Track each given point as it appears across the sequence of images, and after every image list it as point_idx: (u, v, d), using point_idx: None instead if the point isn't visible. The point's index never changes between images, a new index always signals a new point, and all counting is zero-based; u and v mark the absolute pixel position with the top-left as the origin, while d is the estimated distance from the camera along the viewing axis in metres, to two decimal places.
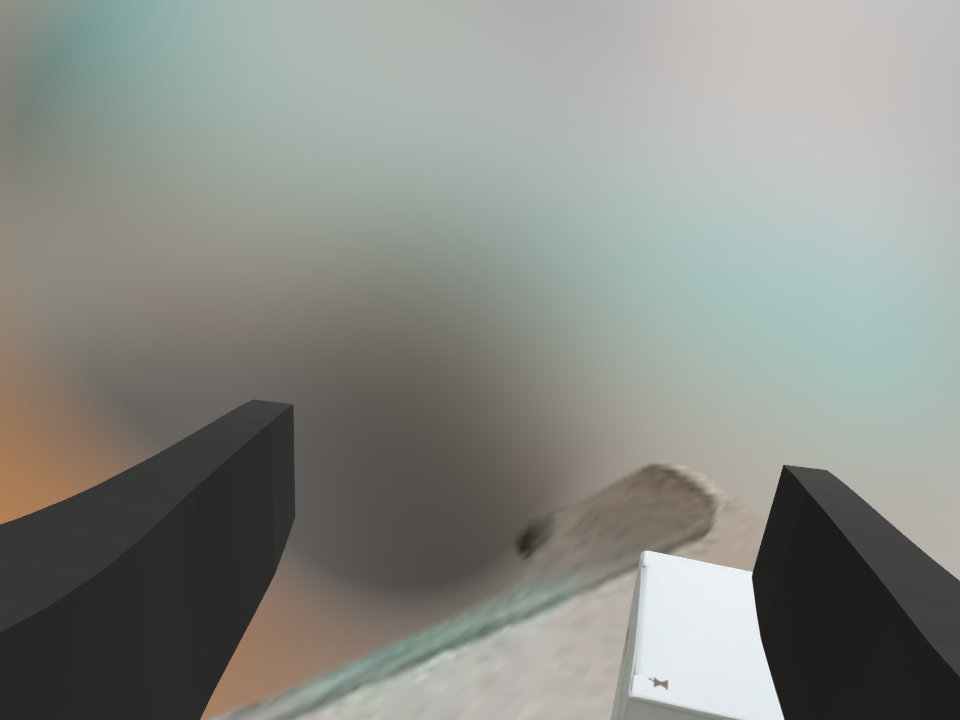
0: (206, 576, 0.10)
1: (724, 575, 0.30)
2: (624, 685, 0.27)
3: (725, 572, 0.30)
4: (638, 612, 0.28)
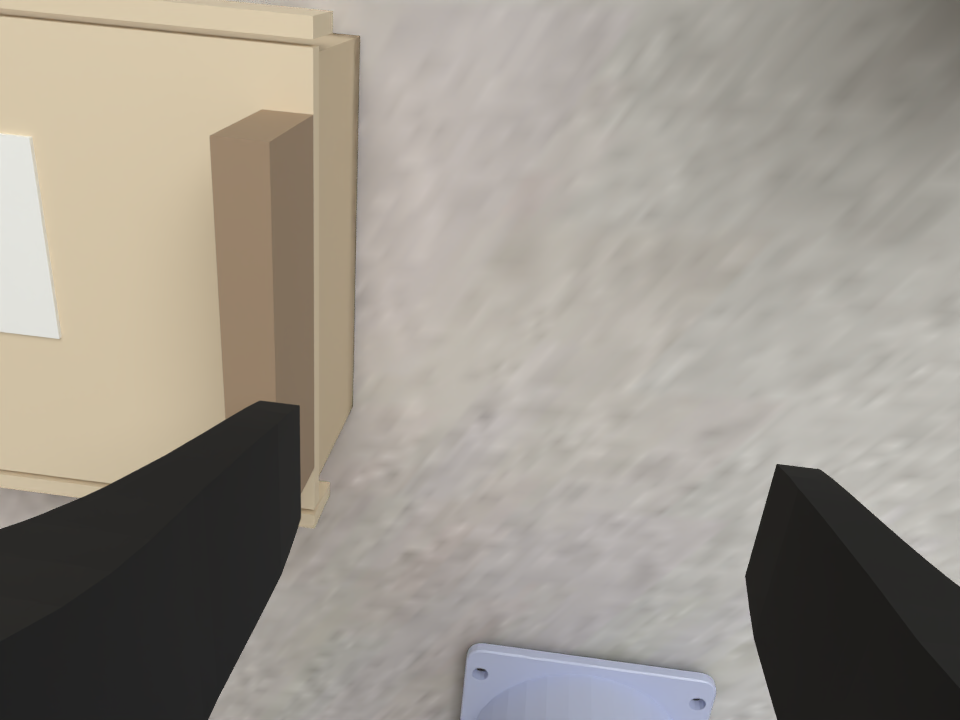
0: (214, 577, 0.10)
1: None
2: None
3: None
4: None
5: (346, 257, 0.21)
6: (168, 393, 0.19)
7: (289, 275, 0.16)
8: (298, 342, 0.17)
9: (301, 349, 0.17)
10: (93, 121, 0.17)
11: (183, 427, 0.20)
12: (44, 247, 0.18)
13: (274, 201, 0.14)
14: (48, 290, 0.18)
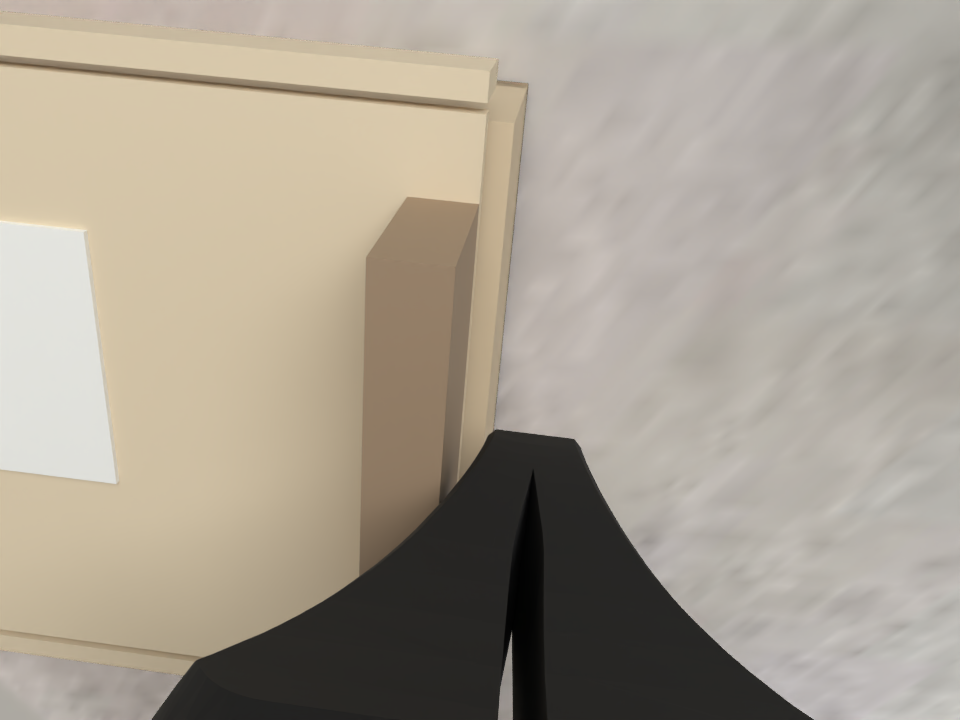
0: (506, 616, 0.10)
1: None
2: None
3: None
4: None
5: (498, 360, 0.17)
6: (257, 550, 0.15)
7: (451, 430, 0.11)
8: None
9: None
10: (171, 211, 0.12)
11: (274, 590, 0.15)
12: (99, 371, 0.13)
13: (451, 344, 0.10)
14: (102, 423, 0.14)
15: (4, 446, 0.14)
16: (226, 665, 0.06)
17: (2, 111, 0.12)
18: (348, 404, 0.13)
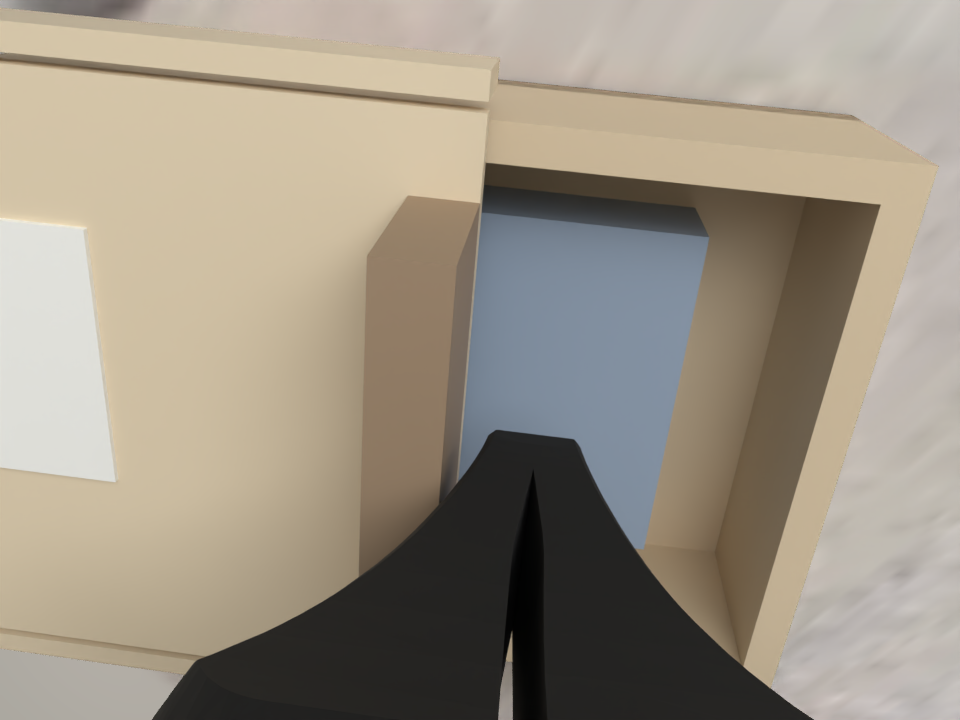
0: (506, 616, 0.10)
1: None
2: None
3: None
4: None
5: None
6: (256, 549, 0.15)
7: (451, 430, 0.11)
8: None
9: None
10: (172, 208, 0.12)
11: (273, 589, 0.15)
12: (99, 369, 0.13)
13: (452, 343, 0.10)
14: (101, 421, 0.14)
15: (3, 444, 0.14)
16: (226, 663, 0.06)
17: (2, 108, 0.12)
18: (349, 403, 0.13)
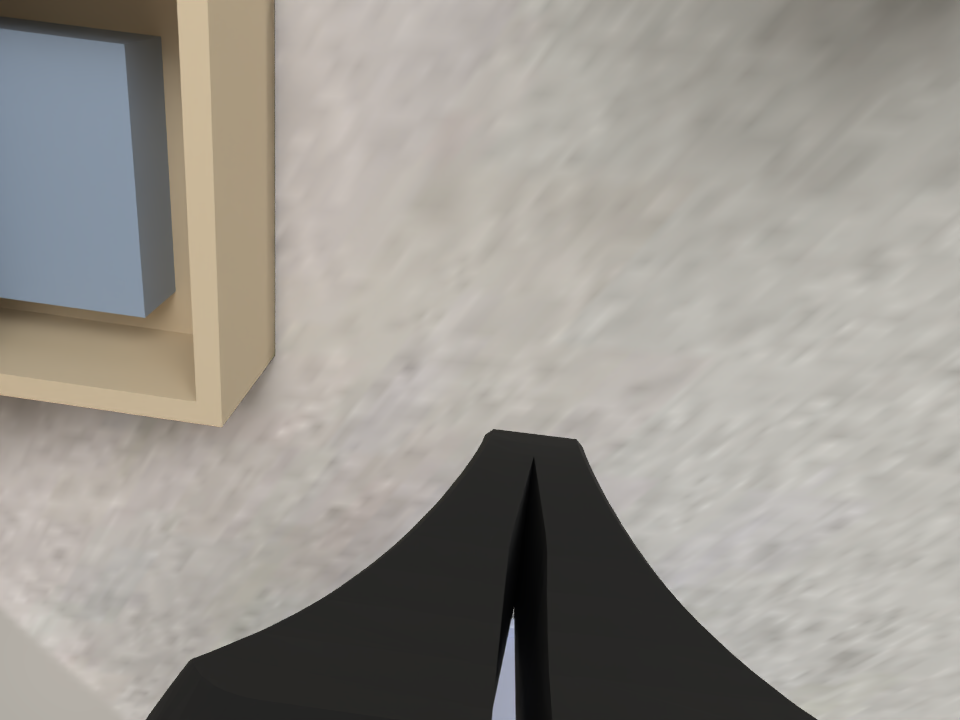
0: (502, 616, 0.10)
1: None
2: None
3: None
4: None
5: (261, 195, 0.21)
6: None
7: None
8: None
9: None
10: None
11: None
12: None
13: None
14: None
15: None
16: (222, 664, 0.06)
17: None
18: None
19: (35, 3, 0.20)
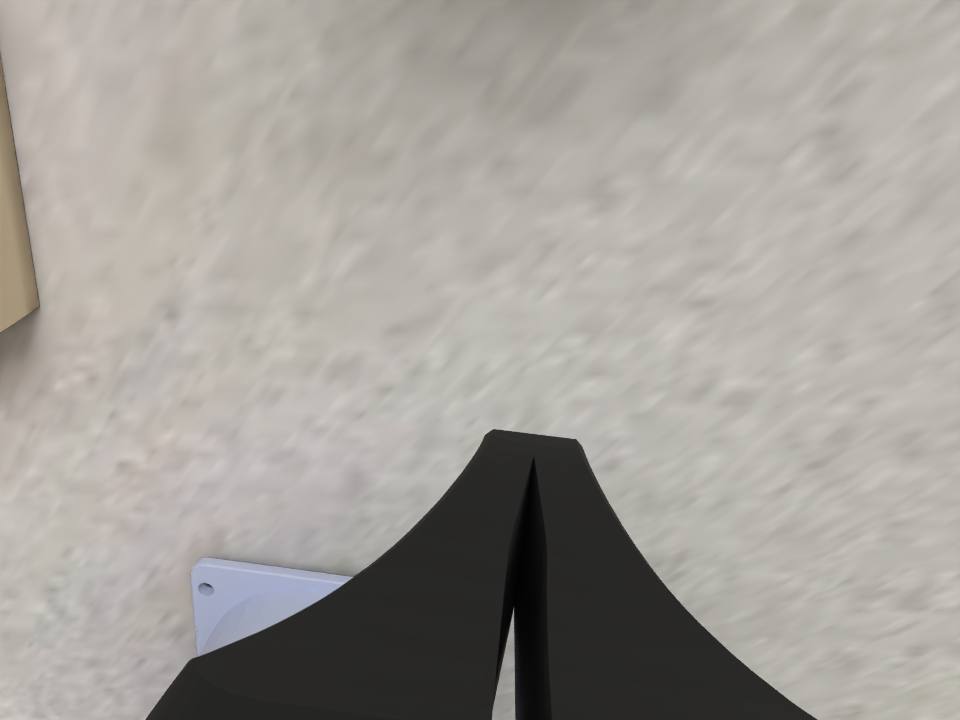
0: (502, 616, 0.10)
1: None
2: None
3: None
4: None
5: None
6: None
7: None
8: None
9: None
10: None
11: None
12: None
13: None
14: None
15: None
16: (222, 663, 0.06)
17: None
18: None
19: None
